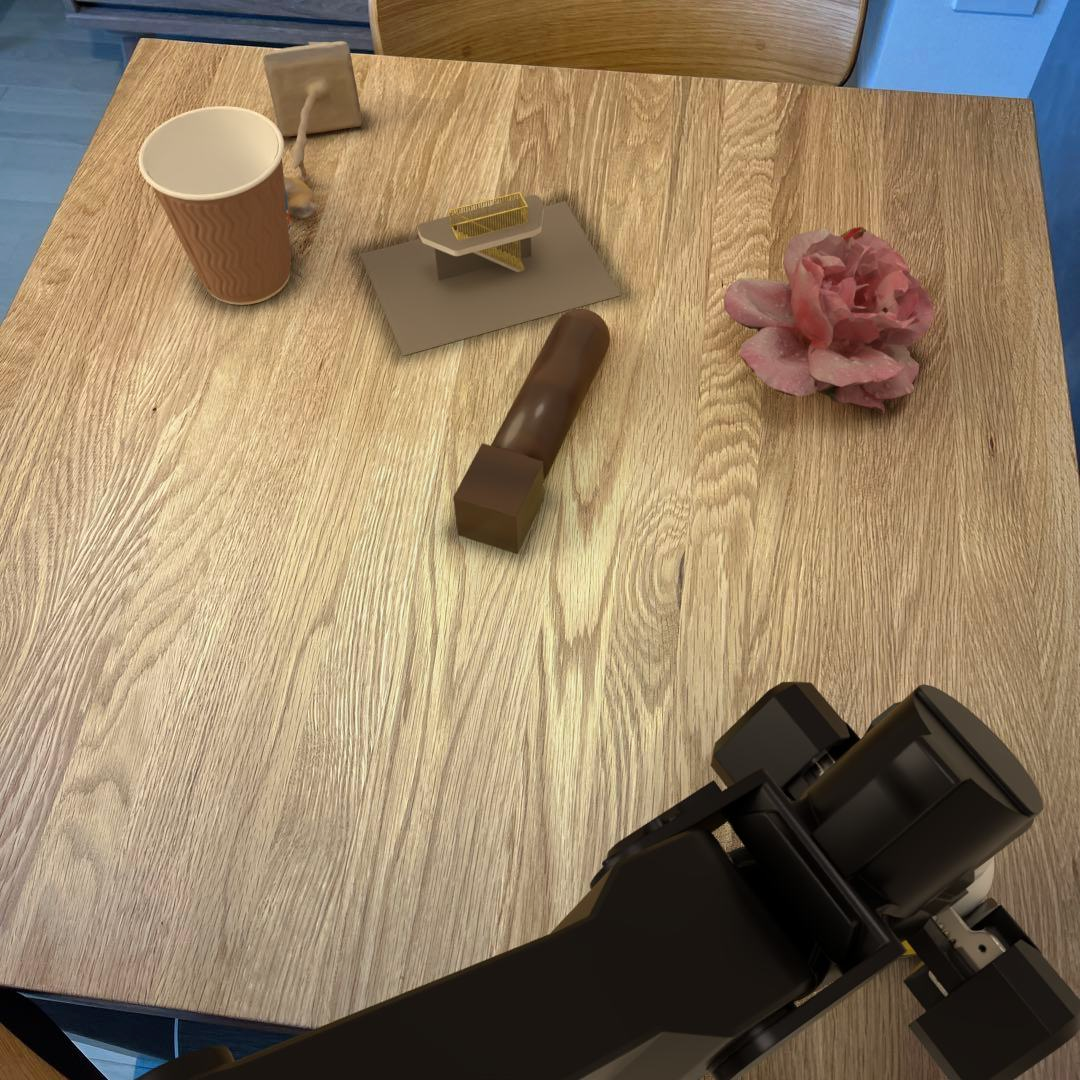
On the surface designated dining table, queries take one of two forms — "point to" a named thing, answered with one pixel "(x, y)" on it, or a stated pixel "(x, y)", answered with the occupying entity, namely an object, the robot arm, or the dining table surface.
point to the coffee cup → (224, 198)
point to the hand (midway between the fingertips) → (940, 849)
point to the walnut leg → (531, 435)
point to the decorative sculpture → (311, 104)
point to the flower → (835, 320)
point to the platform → (486, 272)
